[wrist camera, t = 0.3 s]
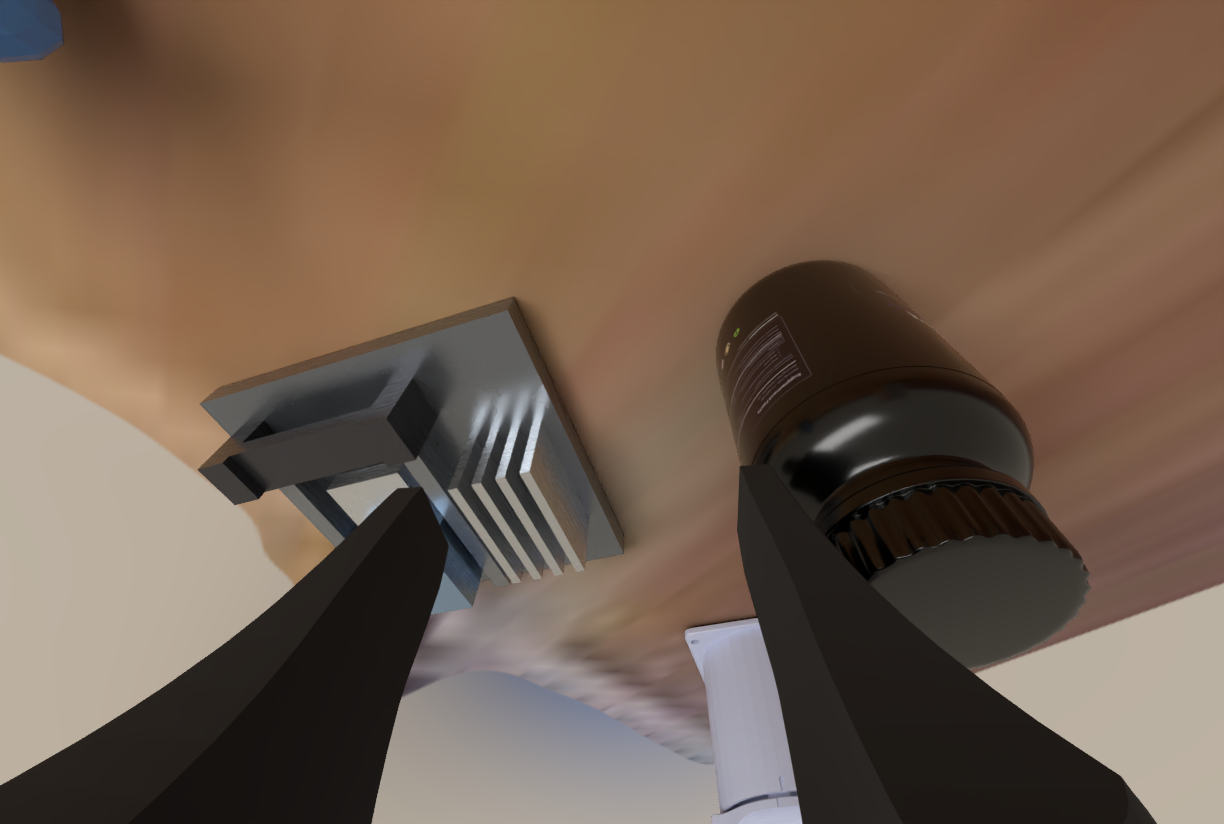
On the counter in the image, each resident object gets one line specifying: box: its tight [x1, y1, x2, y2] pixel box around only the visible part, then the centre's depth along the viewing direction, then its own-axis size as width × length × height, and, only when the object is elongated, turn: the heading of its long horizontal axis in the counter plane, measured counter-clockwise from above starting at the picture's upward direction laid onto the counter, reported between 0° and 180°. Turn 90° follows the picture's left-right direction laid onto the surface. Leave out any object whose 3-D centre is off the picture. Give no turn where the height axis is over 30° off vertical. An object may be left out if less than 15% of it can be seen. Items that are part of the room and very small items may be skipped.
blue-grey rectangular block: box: [326, 463, 483, 614], centre depth 23 cm, size 7×5×3 cm, turn 18°
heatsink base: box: [198, 297, 624, 587], centre depth 23 cm, size 14×14×4 cm
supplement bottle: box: [716, 260, 1091, 669], centre depth 15 cm, size 7×7×12 cm
